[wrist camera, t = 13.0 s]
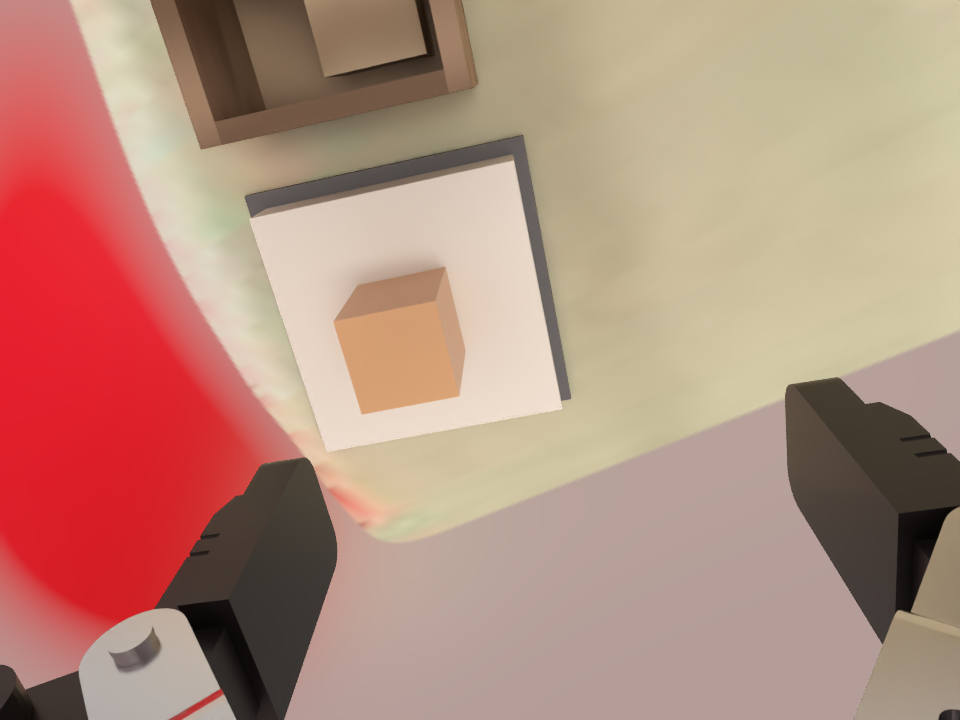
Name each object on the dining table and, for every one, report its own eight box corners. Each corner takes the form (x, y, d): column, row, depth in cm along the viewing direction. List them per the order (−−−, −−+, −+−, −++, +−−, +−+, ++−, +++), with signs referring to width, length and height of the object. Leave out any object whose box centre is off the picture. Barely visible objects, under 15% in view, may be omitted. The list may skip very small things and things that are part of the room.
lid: (266, 208, 34) (204, 245, 27) (512, 153, 32) (515, 177, 26) (337, 428, 38) (300, 509, 31) (558, 387, 37) (571, 462, 30)
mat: (247, 195, 34) (244, 196, 34) (522, 135, 33) (522, 135, 32) (326, 439, 39) (324, 442, 38) (570, 395, 37) (571, 399, 37)
